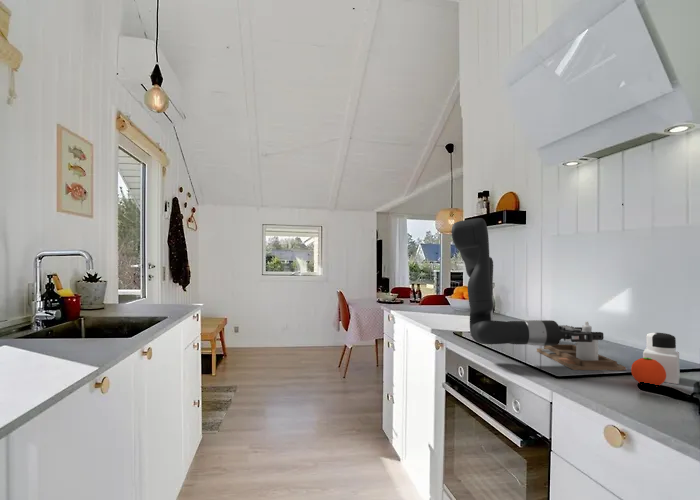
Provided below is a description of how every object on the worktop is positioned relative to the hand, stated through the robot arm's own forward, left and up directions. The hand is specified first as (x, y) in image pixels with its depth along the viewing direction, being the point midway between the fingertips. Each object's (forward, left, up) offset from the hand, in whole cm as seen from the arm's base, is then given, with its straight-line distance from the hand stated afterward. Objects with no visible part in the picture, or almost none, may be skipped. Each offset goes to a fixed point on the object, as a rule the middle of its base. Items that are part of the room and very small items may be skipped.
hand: (594, 333), depth 113 cm
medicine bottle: (+12, +10, -10) cm, 19 cm away
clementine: (+18, +2, -10) cm, 21 cm away
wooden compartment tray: (-6, -2, -9) cm, 11 cm away
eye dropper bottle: (0, -2, -9) cm, 9 cm away
